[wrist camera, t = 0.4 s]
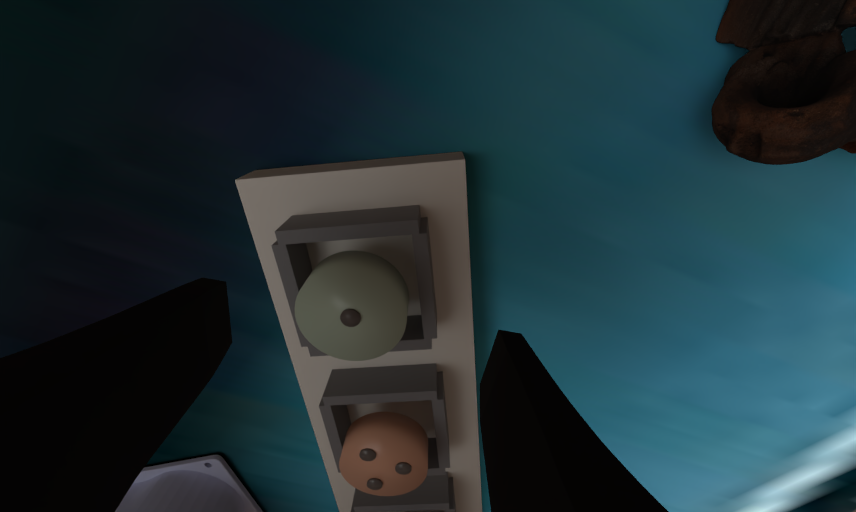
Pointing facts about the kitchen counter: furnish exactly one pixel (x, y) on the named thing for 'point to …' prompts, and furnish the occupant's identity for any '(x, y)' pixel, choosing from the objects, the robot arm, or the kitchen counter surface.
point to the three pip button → (385, 454)
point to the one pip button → (353, 306)
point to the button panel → (426, 321)
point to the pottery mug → (787, 80)
